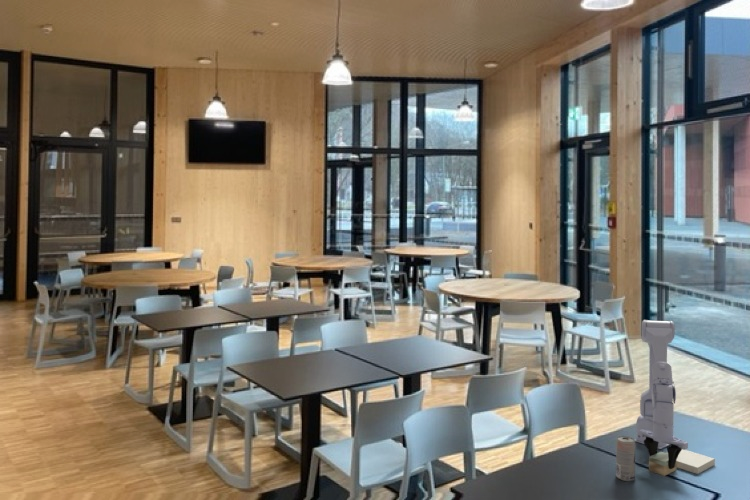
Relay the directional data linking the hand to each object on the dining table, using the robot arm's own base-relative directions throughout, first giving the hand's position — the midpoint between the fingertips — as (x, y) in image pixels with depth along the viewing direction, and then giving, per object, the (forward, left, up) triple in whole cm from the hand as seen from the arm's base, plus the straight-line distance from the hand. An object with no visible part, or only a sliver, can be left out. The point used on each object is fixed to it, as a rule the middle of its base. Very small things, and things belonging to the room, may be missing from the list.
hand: (662, 465), depth 190 cm
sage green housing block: (0, 0, -2) cm, 2 cm away
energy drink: (-4, -14, -2) cm, 15 cm away
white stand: (+2, +11, -2) cm, 11 cm away
